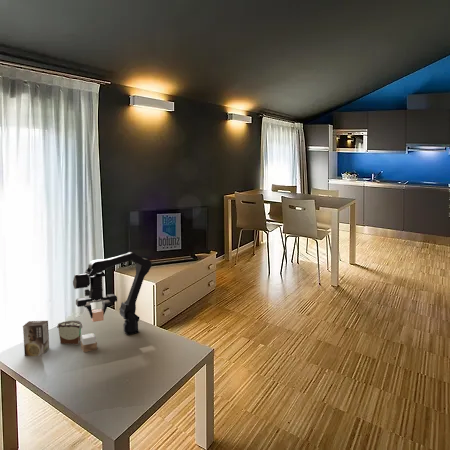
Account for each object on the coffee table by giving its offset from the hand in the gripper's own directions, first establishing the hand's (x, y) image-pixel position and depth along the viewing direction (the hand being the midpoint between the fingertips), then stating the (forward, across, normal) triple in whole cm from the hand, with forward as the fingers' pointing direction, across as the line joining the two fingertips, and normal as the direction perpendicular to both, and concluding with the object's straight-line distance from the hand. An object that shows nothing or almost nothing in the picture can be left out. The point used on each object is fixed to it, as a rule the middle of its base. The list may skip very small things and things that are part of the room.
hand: (97, 317), depth 185 cm
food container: (+13, +11, -6) cm, 18 cm away
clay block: (+1, 0, 0) cm, 1 cm away
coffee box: (+15, +27, -3) cm, 31 cm away
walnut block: (+13, +6, +7) cm, 15 cm away
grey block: (+9, +6, +7) cm, 13 cm away
